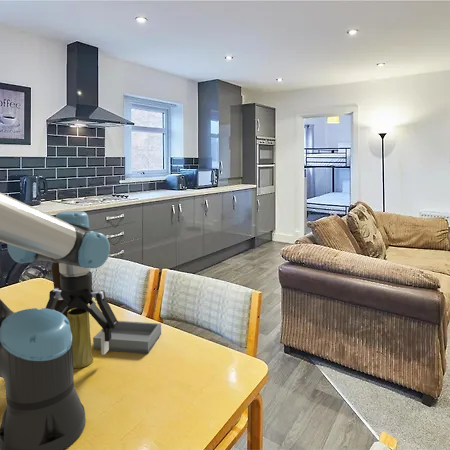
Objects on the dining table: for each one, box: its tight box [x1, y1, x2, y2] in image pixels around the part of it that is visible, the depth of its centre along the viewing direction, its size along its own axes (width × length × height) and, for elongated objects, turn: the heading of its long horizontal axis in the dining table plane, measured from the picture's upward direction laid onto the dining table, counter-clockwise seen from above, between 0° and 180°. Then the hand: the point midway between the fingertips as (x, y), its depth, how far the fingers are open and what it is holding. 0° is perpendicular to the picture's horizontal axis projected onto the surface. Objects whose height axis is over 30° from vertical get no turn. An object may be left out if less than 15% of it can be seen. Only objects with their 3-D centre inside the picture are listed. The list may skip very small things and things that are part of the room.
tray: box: [92, 320, 162, 355], centre depth 109 cm, size 12×16×4 cm
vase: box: [67, 308, 94, 369], centre depth 96 cm, size 6×6×14 cm
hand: (80, 350), depth 97 cm, fingers open, 13 cm apart
